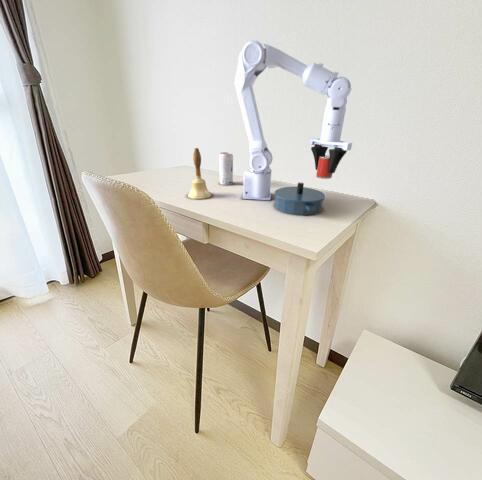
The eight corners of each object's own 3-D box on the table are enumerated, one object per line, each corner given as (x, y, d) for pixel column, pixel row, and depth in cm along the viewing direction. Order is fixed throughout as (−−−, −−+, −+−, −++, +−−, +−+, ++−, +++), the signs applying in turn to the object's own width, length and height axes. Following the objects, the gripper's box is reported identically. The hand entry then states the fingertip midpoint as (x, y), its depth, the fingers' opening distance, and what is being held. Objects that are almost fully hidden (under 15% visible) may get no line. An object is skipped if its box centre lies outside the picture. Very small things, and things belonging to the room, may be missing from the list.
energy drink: (233, 182, 109) (233, 152, 103) (231, 185, 104) (231, 154, 98) (220, 181, 109) (220, 152, 104) (218, 185, 104) (218, 154, 99)
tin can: (317, 178, 81) (320, 157, 78) (315, 175, 86) (318, 154, 83) (333, 179, 81) (336, 157, 78) (330, 175, 85) (334, 155, 82)
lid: (284, 206, 73) (285, 191, 71) (268, 190, 86) (269, 178, 84) (334, 203, 75) (337, 189, 73) (311, 188, 89) (312, 176, 87)
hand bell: (183, 197, 89) (178, 149, 82) (195, 191, 96) (192, 146, 89) (204, 200, 87) (201, 150, 79) (215, 193, 93) (214, 147, 86)
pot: (287, 220, 72) (289, 206, 70) (267, 198, 90) (268, 187, 88) (334, 217, 75) (337, 204, 73) (305, 196, 92) (307, 185, 90)
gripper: (362, 126, 73) (352, 174, 79) (323, 123, 84) (316, 165, 90) (346, 126, 69) (336, 177, 75) (307, 123, 80) (301, 167, 86)
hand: (324, 171), depth 82 cm, fingers closed on tin can, 5 cm apart
